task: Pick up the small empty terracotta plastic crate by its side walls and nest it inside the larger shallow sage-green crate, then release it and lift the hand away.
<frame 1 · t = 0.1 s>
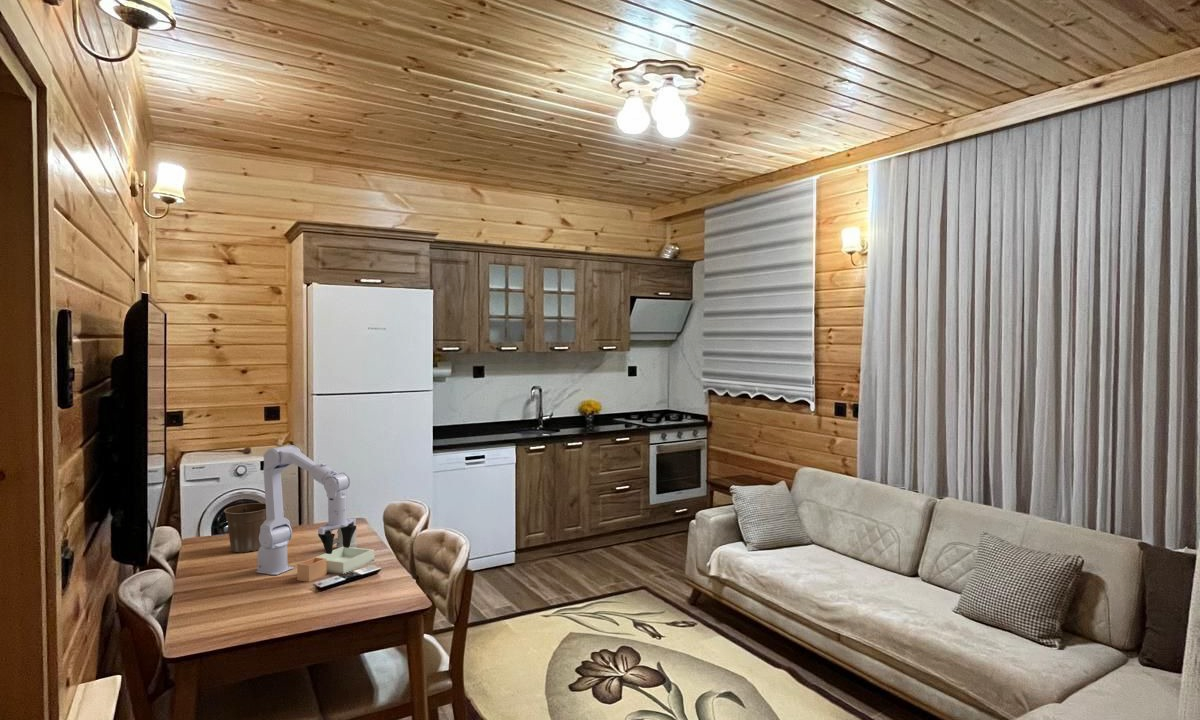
hand: (337, 550, 228), 10 cm above the table, tool pointing down, fingers open, 7 cm apart
plant pot: (248, 549, 265), on the table
big crate: (343, 565, 243), on the table
mug: (341, 549, 263), on the table
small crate: (312, 577, 230), on the table
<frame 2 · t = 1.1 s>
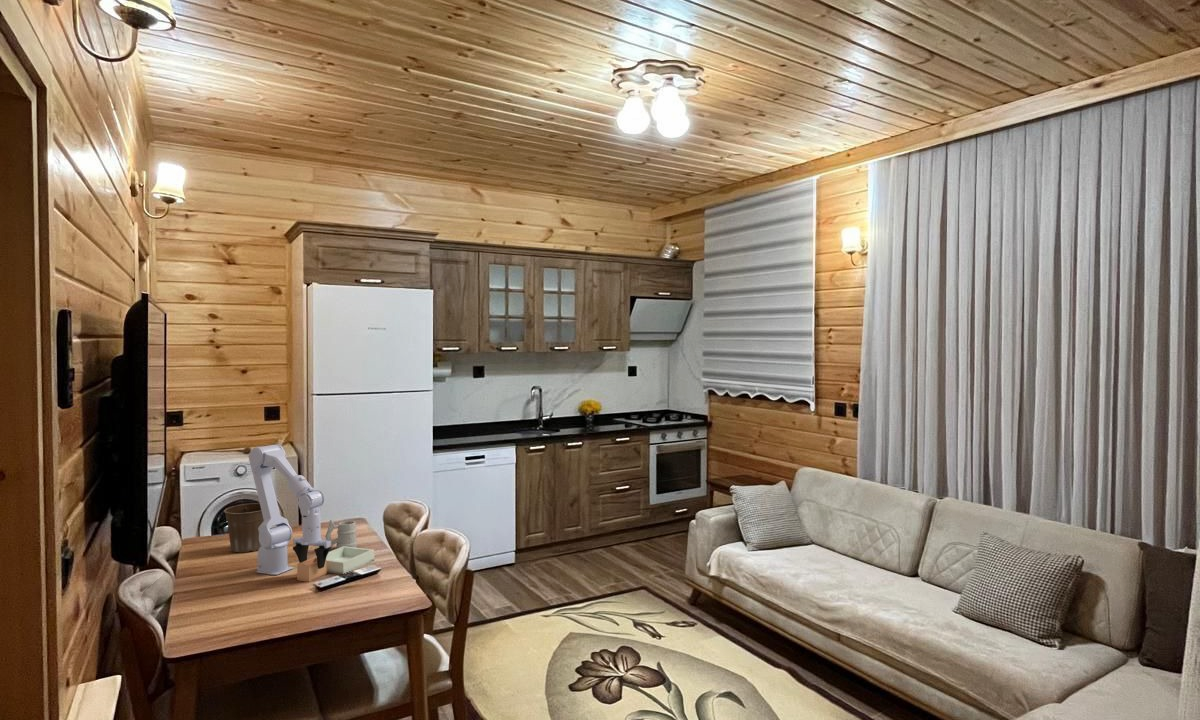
hand: (312, 566, 230), 4 cm above the table, tool pointing down, fingers open, 7 cm apart
nothing on the table moved.
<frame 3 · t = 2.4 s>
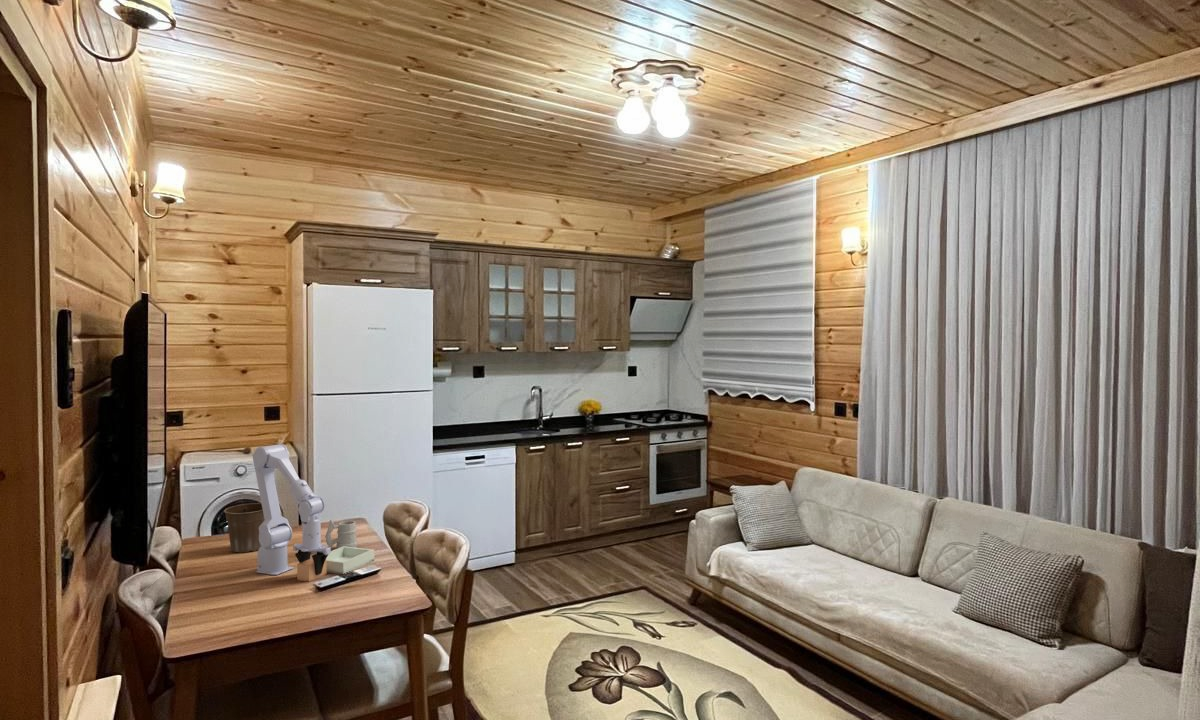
hand: (312, 573, 230), 1 cm above the table, tool pointing down, fingers closed on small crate, 5 cm apart
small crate: (312, 577, 230), on the table, touching gripper
everything else where it was.
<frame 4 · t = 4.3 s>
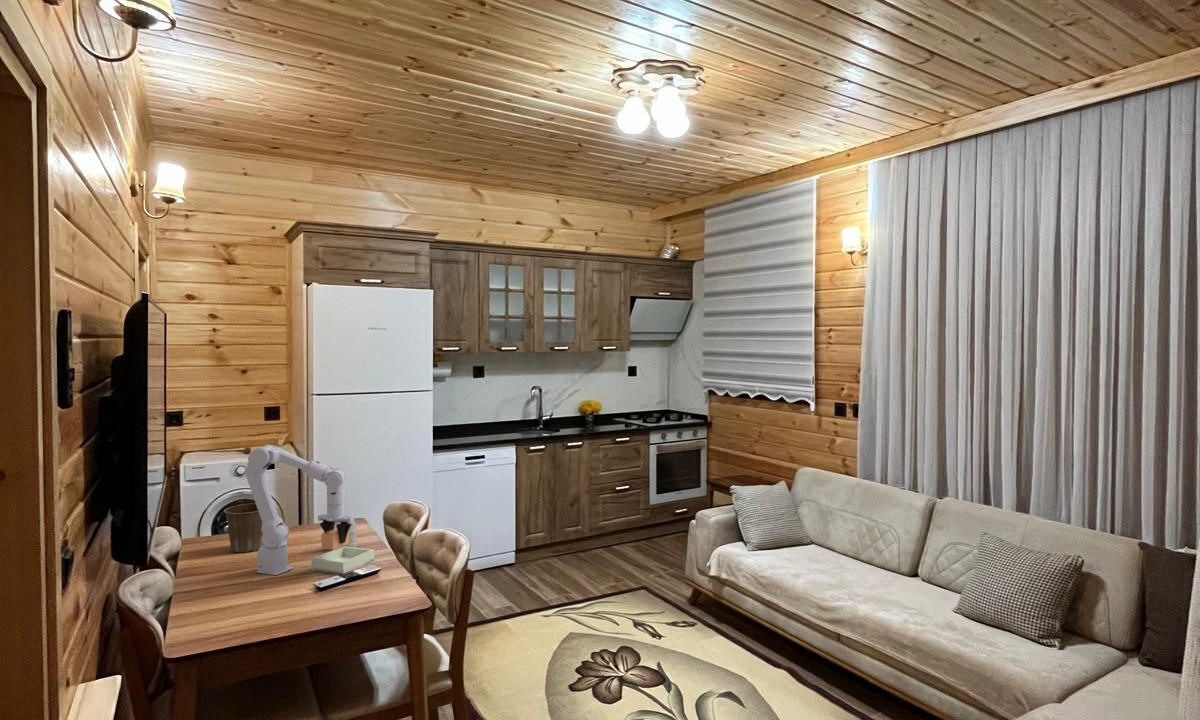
hand: (336, 542, 240), 9 cm above the table, tool pointing down, fingers closed on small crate, 5 cm apart
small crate: (335, 546, 240), point 8 cm above the table, touching gripper
everything else where it was.
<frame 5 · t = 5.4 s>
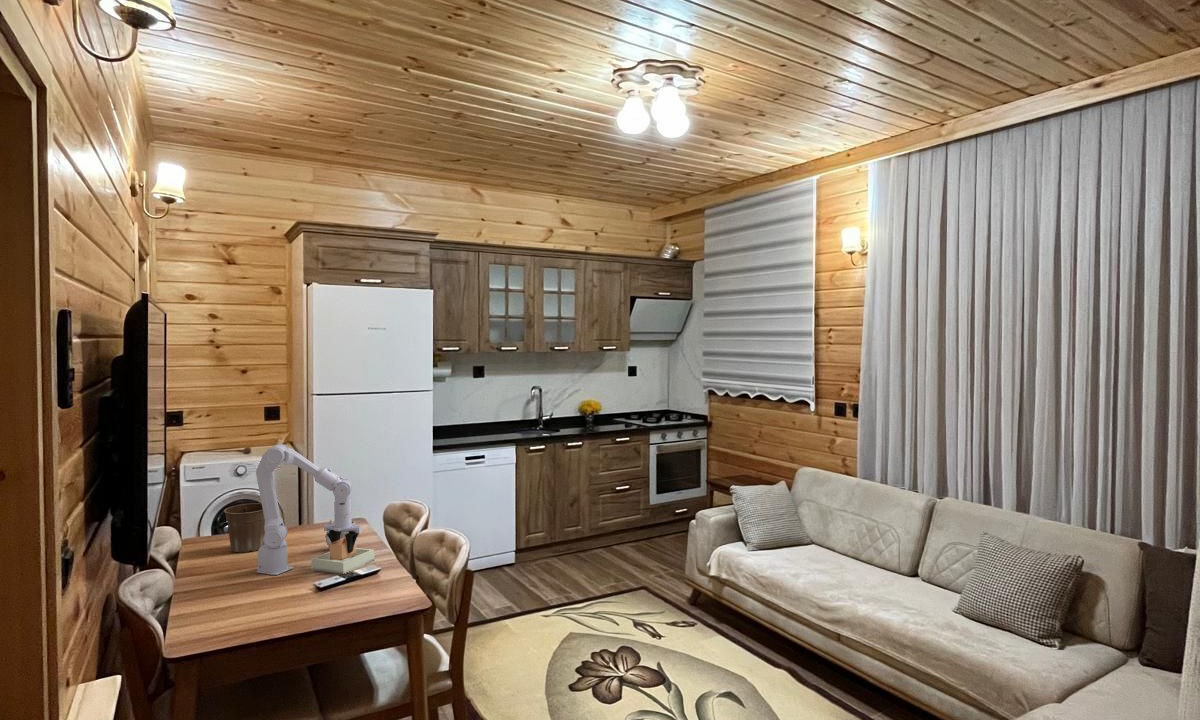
hand: (343, 551, 243), 5 cm above the table, tool pointing down, fingers closed on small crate, 5 cm apart
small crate: (342, 556, 243), point 3 cm above the table, touching gripper
everything else where it was.
when the fingers open (4 cm above the table, at t = 6.5 s): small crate drops 2 cm, resting on big crate.
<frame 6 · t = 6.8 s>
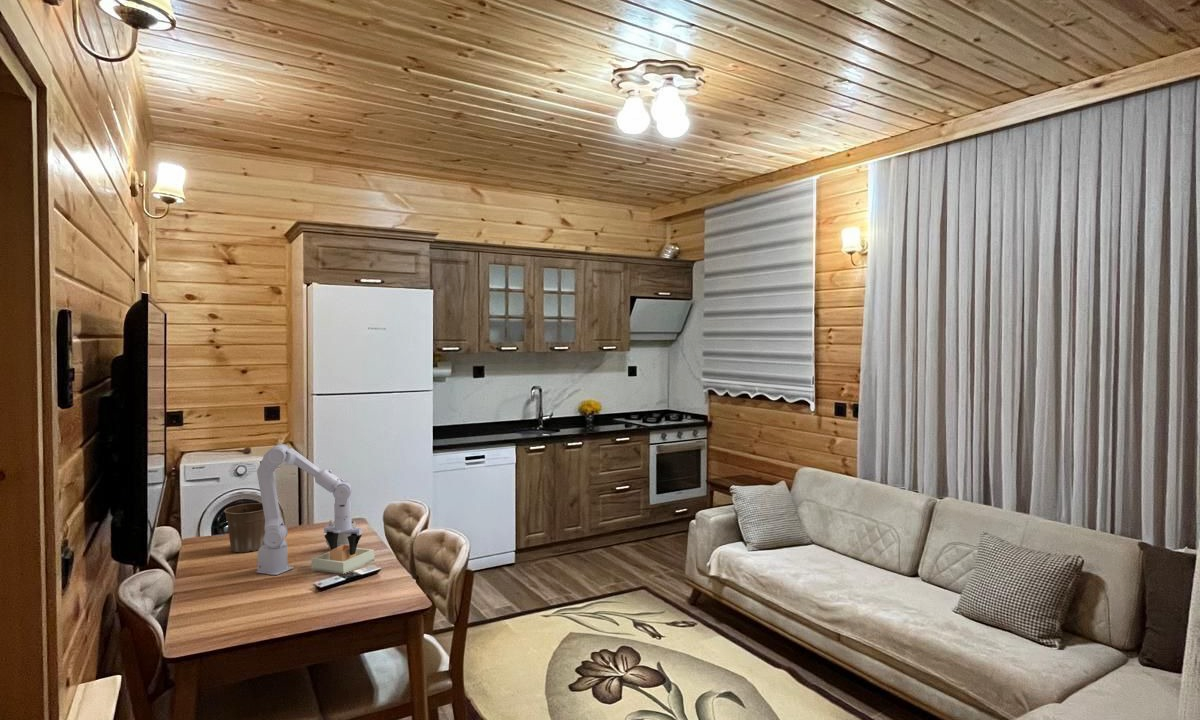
hand: (343, 553, 243), 4 cm above the table, tool pointing down, fingers open, 7 cm apart
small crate: (342, 563, 243), point 1 cm above the table, touching big crate
everything else where it was.
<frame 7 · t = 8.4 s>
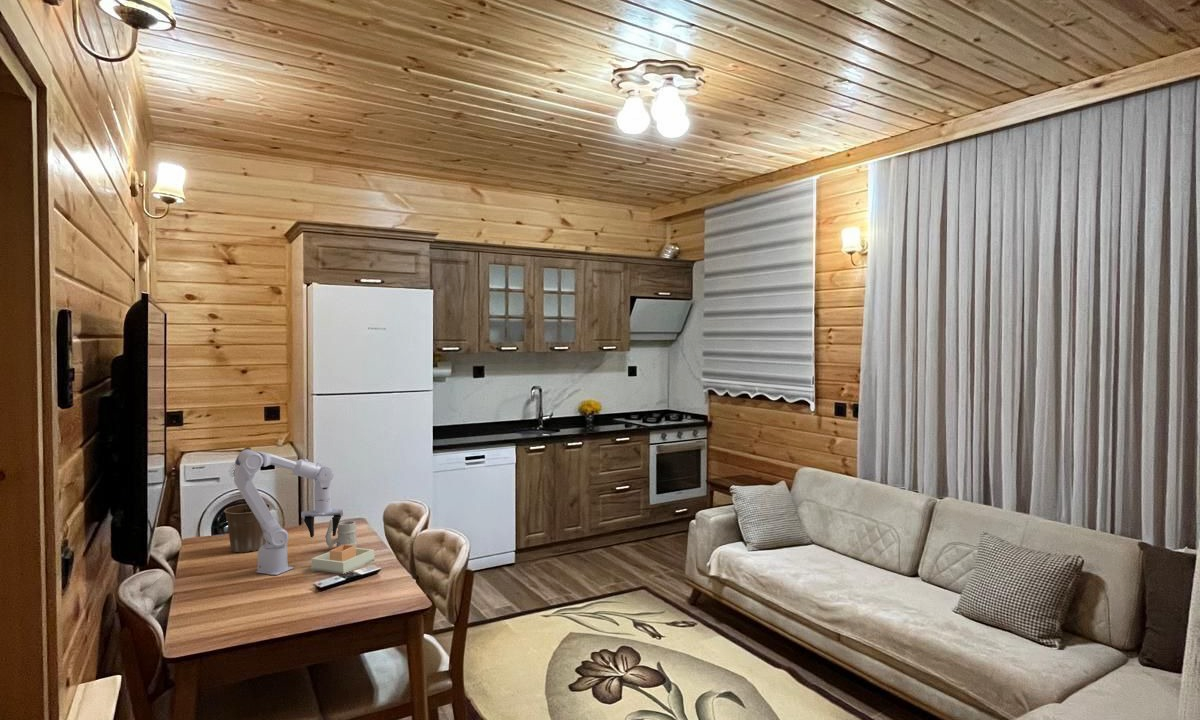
hand: (323, 535, 248), 9 cm above the table, tool pointing down, fingers open, 7 cm apart
nothing on the table moved.
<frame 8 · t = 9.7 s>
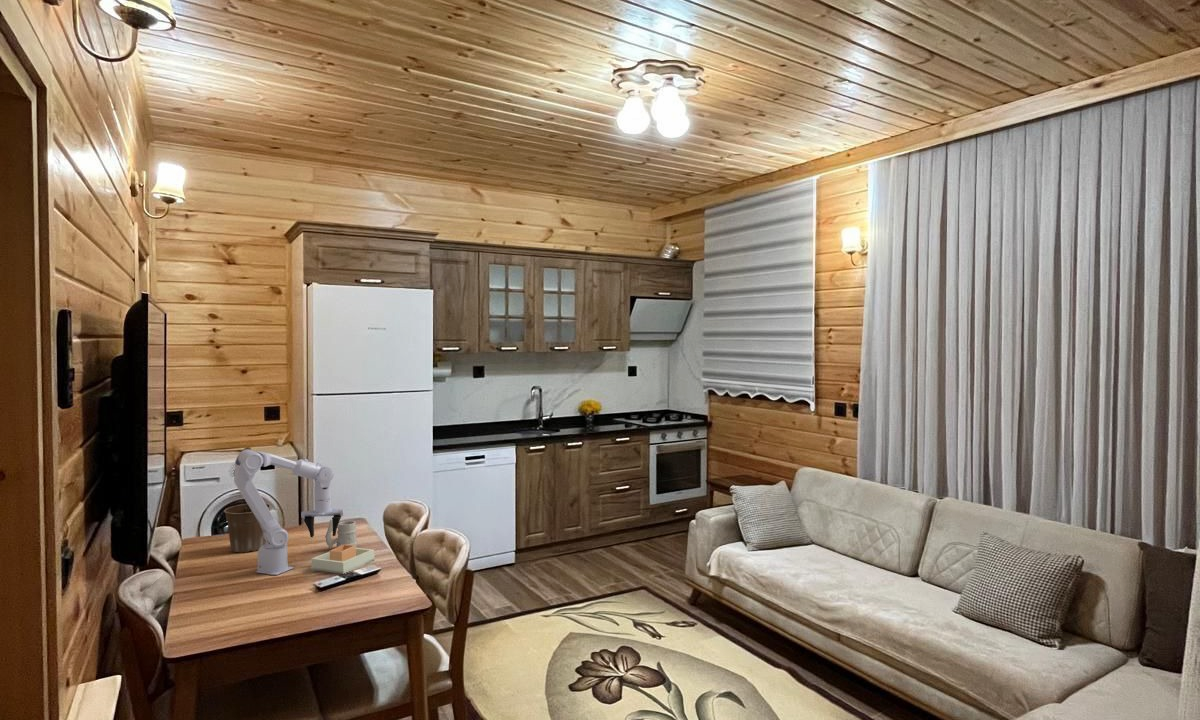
hand: (323, 535, 248), 9 cm above the table, tool pointing down, fingers open, 7 cm apart
nothing on the table moved.
at the end: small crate inside the target area on the big crate (0.4 cm from its centre), point 0.8 cm above the big crate's base; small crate tilted 0°; the gripper is holding nothing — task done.
